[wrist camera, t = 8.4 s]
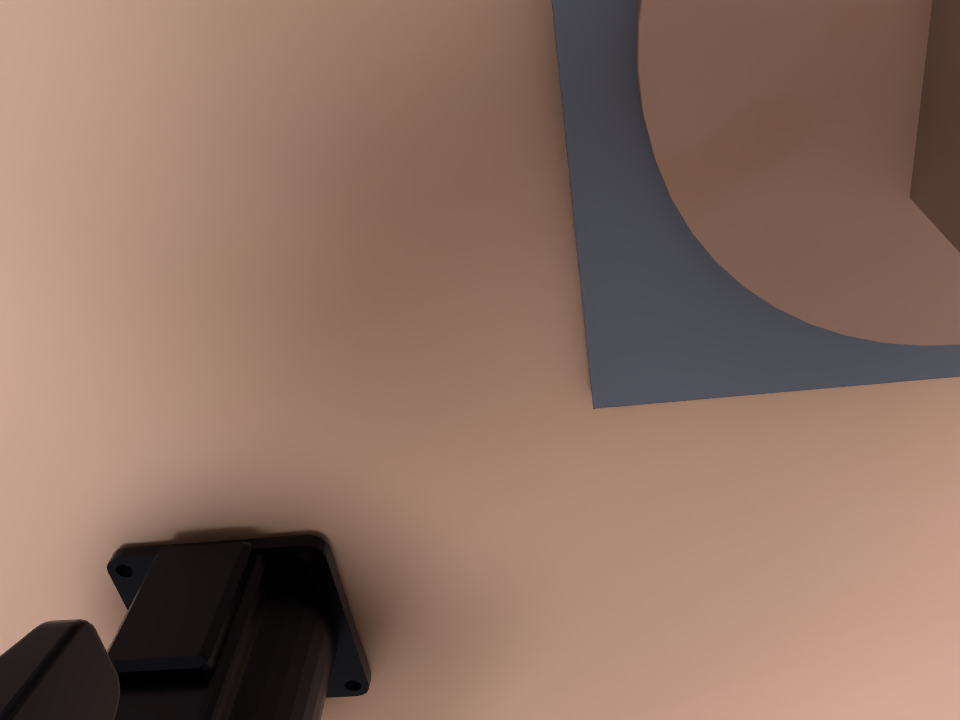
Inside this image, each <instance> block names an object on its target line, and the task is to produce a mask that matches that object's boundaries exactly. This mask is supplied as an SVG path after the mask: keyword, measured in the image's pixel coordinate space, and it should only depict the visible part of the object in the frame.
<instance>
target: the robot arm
mask: <svg viewBox="0 0 960 720" xmlns="http://www.w3.org/2000/svg"><path fill="white" fill-rule="evenodd" d="M306 551H307V552H312V553H314V554H315V555H313V554H309V553H307V552H306ZM126 565H127V566H126ZM128 566H129V567H128ZM107 570H108V573H109V575H110V577H111V579H112V581H113V583H114V585H115V586H116V588H117V590H118V592H119V594H120V596H121V598H122V600H123V602H124V604H125V606H126V608H127V610H128V611H127V613H126V615H125V617H124V619H123V621H122V623H121V625H120V627H119V629H118V631H117V633H116V635H115V637H114V639H113V641H112V643H111V645H110V647H109V649H108V651H107V652H106V649H105V647H104V645H103V643H102V641H101V639H100V637H99V635H98V633H97V631H96V629H95V628H94V626H93V625H92V624H90V623H89V622H88V621H86V620H82V619H77V620H58V621H48V622H45V623H43V624H41V625H39V626H38V627H36V628H35V629H33V630H32V631H31V632H30V633H28V634H27V635H26V636H25V637H23V638H22V639H21V640H20V641H18V642H17V643H16V644H15V645H13V646H12V647H11V648H10V649H9V650H7V651H6V652H5V653H4V654H2V655H1V656H0V720H321V715H322V711H323V707H324V703H325V699H326V697H346V696H359V695H363V694H365V693H367V691H368V690H369V686H370V681H371V673H370V670H369V667H368V664H367V661H366V658H365V655H364V652H363V649H362V646H361V643H360V640H359V637H358V633H357V630H356V627H355V624H354V621H353V618H352V615H351V612H350V609H349V606H348V603H347V600H346V597H345V594H344V591H343V588H342V585H341V582H340V579H339V575H338V572H337V569H336V566H335V563H334V560H333V557H332V554H331V551H330V548H329V546H328V544H327V542H326V541H324V540H323V539H322V538H320V537H317V536H314V535H300V536H287V537H273V538H259V539H245V540H232V541H218V542H204V543H190V544H177V545H163V546H149V547H135V548H123V549H119V550H117V551H116V552H114V554H113V556H112V557H111V559H110V561H109V563H108V565H107Z"/></svg>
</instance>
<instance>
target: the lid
mask: <svg viewBox="0 0 960 720" xmlns="http://www.w3.org/2000/svg"><path fill="white" fill-rule="evenodd" d="M636 71H637V79H638V88H639V96H640V104H641V109H642V113H643V117H644V120H645V124H646V128H647V132H648V136H649V140H650V143H651V147H652V150H653V153H654V157H655V160H656V163H657V165H658V168H659V170H660V172H661V175H662V177H663V179H664V182H665V184H666V187H667V189H668V191H669V194H670V196H671V198H672V201H673V202H674V204H675V205H676V207H677V209H678V210H679V212H680V214H681V215H682V217H683V219H684V220H685V222H686V224H687V225H688V227H689V229H690V230H691V232H692V233H693V235H694V236H695V237H696V238H697V239H698V241H699V242H700V243H701V244H702V245H703V247H704V248H705V249H706V250H707V251H708V253H709V254H710V255H711V256H712V257H713V259H714V260H715V261H716V262H717V263H718V264H719V265H720V266H721V267H722V268H724V269H725V270H726V271H727V272H728V273H729V274H730V275H731V276H733V277H734V278H735V279H736V280H737V281H738V282H739V283H740V284H742V285H743V286H744V287H745V288H747V289H748V290H750V291H751V292H753V293H754V294H756V295H757V296H759V297H760V298H762V299H763V300H765V301H766V302H768V303H769V304H771V305H772V306H774V307H775V308H777V309H779V310H782V311H784V312H786V313H788V314H790V315H792V316H794V317H796V318H798V319H800V320H803V321H805V322H807V323H809V324H812V325H815V326H818V327H821V328H824V329H827V330H830V331H833V332H836V333H839V334H843V335H846V336H851V337H856V338H861V339H867V340H872V341H877V342H882V343H893V344H907V345H921V346H931V345H958V344H960V0H638V6H637V13H636Z"/></svg>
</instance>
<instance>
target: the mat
mask: <svg viewBox="0 0 960 720" xmlns="http://www.w3.org/2000/svg"><path fill="white" fill-rule="evenodd" d="M637 6H638V0H552V8H553V18H554V27H555V37H556V47H557V57H558V67H559V76H560V86H561V96H562V106H563V116H564V126H565V135H566V145H567V155H568V165H569V175H570V185H571V194H572V204H573V214H574V224H575V234H576V243H577V253H578V263H579V273H580V283H581V293H582V302H583V312H584V322H585V332H586V342H587V351H588V361H589V371H590V381H591V391H592V401H593V409H595V408H607V407H618V406H629V405H641V404H652V403H664V402H675V401H686V400H698V399H709V398H720V397H732V396H743V395H755V394H766V393H777V392H789V391H800V390H811V389H823V388H834V387H845V386H857V385H868V384H880V383H891V382H902V381H914V380H925V379H936V378H948V377H959V376H960V344H958V345H931V346H921V345H907V344H893V343H882V342H877V341H872V340H867V339H861V338H856V337H851V336H846V335H843V334H839V333H836V332H833V331H830V330H827V329H824V328H821V327H818V326H815V325H812V324H809V323H807V322H805V321H803V320H800V319H798V318H796V317H794V316H792V315H790V314H788V313H786V312H784V311H782V310H779V309H777V308H775V307H774V306H772V305H771V304H769V303H768V302H766V301H765V300H763V299H762V298H760V297H759V296H757V295H756V294H754V293H753V292H751V291H750V290H748V289H747V288H745V287H744V286H743V285H742V284H740V283H739V282H738V281H737V280H736V279H735V278H734V277H733V276H731V275H730V274H729V273H728V272H727V271H726V270H725V269H724V268H722V267H721V266H720V265H719V264H718V263H717V262H716V261H715V260H714V259H713V257H712V256H711V255H710V254H709V253H708V251H707V250H706V249H705V248H704V247H703V245H702V244H701V243H700V242H699V241H698V239H697V238H696V237H695V236H694V235H693V233H692V232H691V230H690V229H689V227H688V225H687V224H686V222H685V220H684V219H683V217H682V215H681V214H680V212H679V210H678V209H677V207H676V205H675V204H674V202H673V201H672V198H671V196H670V194H669V191H668V189H667V187H666V184H665V182H664V179H663V177H662V175H661V172H660V170H659V168H658V165H657V163H656V160H655V157H654V153H653V150H652V147H651V143H650V140H649V136H648V132H647V128H646V124H645V120H644V117H643V113H642V109H641V104H640V96H639V88H638V79H637V71H636V13H637Z"/></svg>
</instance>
